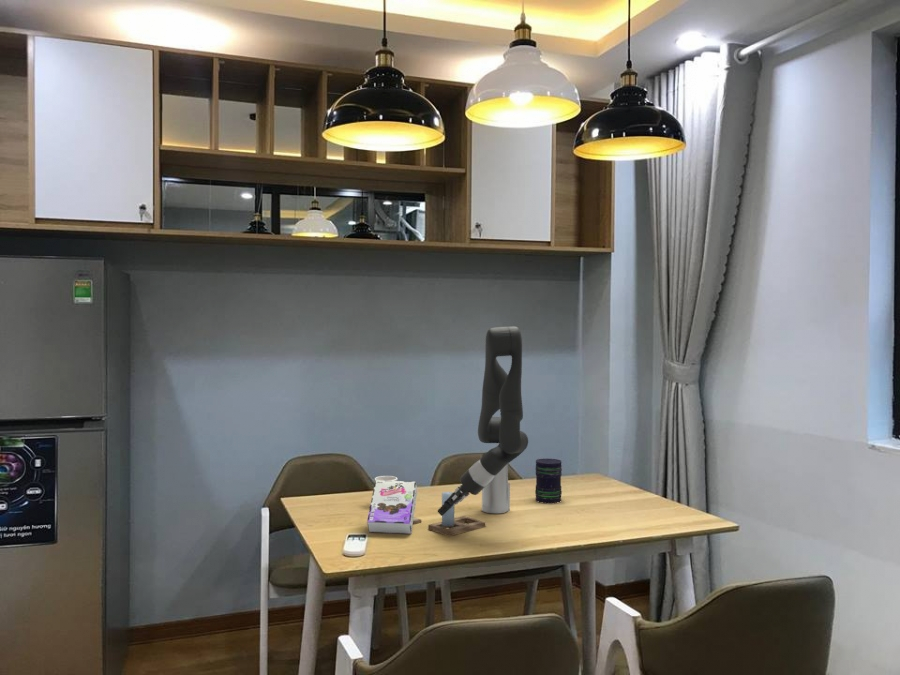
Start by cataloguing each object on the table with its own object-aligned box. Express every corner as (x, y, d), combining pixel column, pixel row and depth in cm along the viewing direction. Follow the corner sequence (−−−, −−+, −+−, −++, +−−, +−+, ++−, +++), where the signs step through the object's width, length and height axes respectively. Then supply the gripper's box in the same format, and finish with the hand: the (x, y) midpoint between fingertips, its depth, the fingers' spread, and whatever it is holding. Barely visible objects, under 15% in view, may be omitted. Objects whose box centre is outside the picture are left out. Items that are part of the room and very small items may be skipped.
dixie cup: (369, 505, 259) (369, 478, 259) (387, 501, 265) (387, 474, 265) (384, 509, 253) (384, 481, 253) (402, 505, 259) (402, 478, 259)
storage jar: (563, 503, 262) (563, 463, 262) (536, 503, 262) (536, 463, 262) (559, 497, 272) (559, 458, 272) (534, 497, 272) (534, 458, 272)
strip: (412, 519, 240) (413, 496, 239) (421, 522, 236) (421, 498, 236) (396, 523, 235) (396, 499, 235) (405, 526, 232) (405, 501, 231)
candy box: (366, 521, 221) (374, 479, 233) (368, 532, 224) (376, 490, 237) (410, 523, 219) (416, 480, 232) (412, 534, 223) (417, 491, 235)
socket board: (464, 520, 239) (464, 516, 239) (485, 526, 232) (485, 521, 232) (428, 529, 228) (428, 524, 228) (449, 536, 221) (449, 531, 221)
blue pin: (448, 522, 230) (448, 491, 230) (456, 524, 227) (457, 493, 227) (439, 524, 227) (439, 493, 227) (447, 527, 224) (447, 495, 224)
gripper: (477, 463, 231) (442, 497, 235) (462, 471, 218) (426, 507, 222) (492, 481, 229) (457, 515, 233) (479, 490, 216) (442, 526, 220)
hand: (442, 511), depth 228 cm, fingers closed on blue pin, 4 cm apart
